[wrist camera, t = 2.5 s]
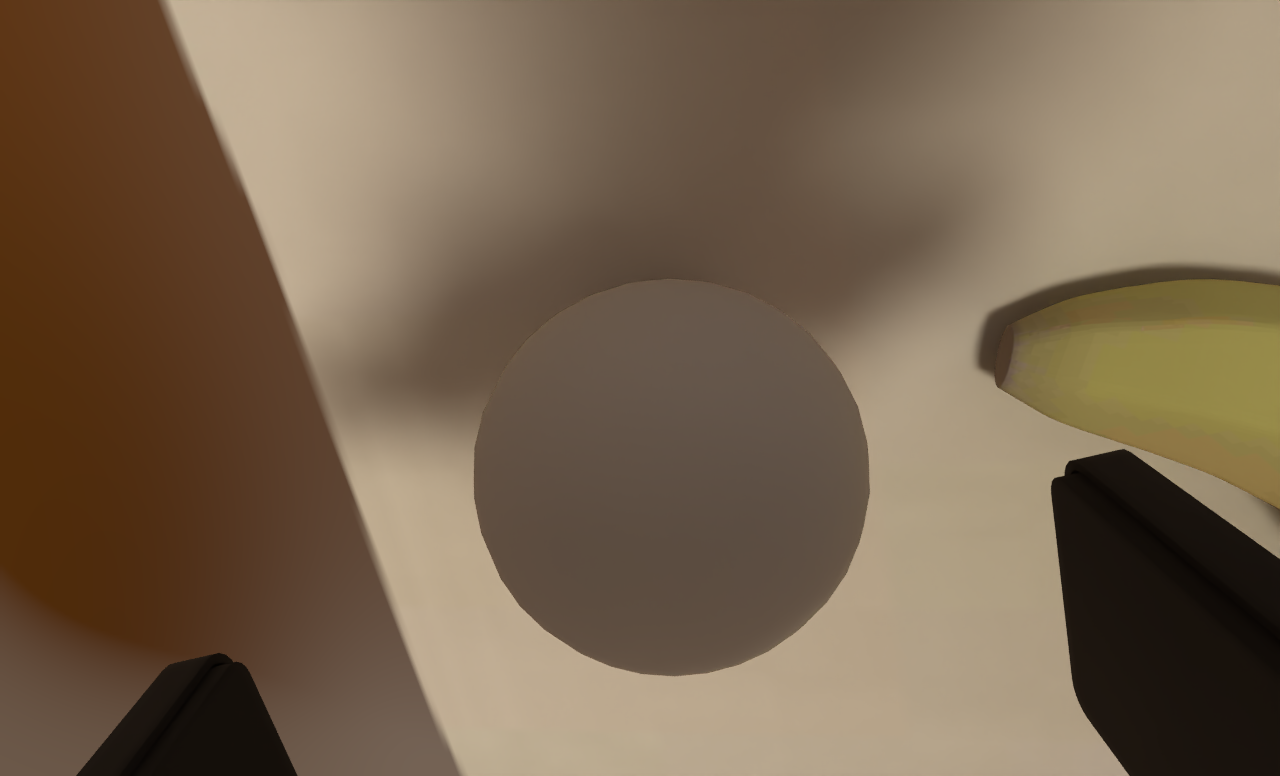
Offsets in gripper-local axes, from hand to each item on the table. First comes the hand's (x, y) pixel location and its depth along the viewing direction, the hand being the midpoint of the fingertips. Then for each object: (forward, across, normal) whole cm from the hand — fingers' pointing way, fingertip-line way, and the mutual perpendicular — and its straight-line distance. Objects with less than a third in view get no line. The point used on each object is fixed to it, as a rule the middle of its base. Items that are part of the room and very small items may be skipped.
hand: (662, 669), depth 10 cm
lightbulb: (+12, 0, -1) cm, 13 cm away
